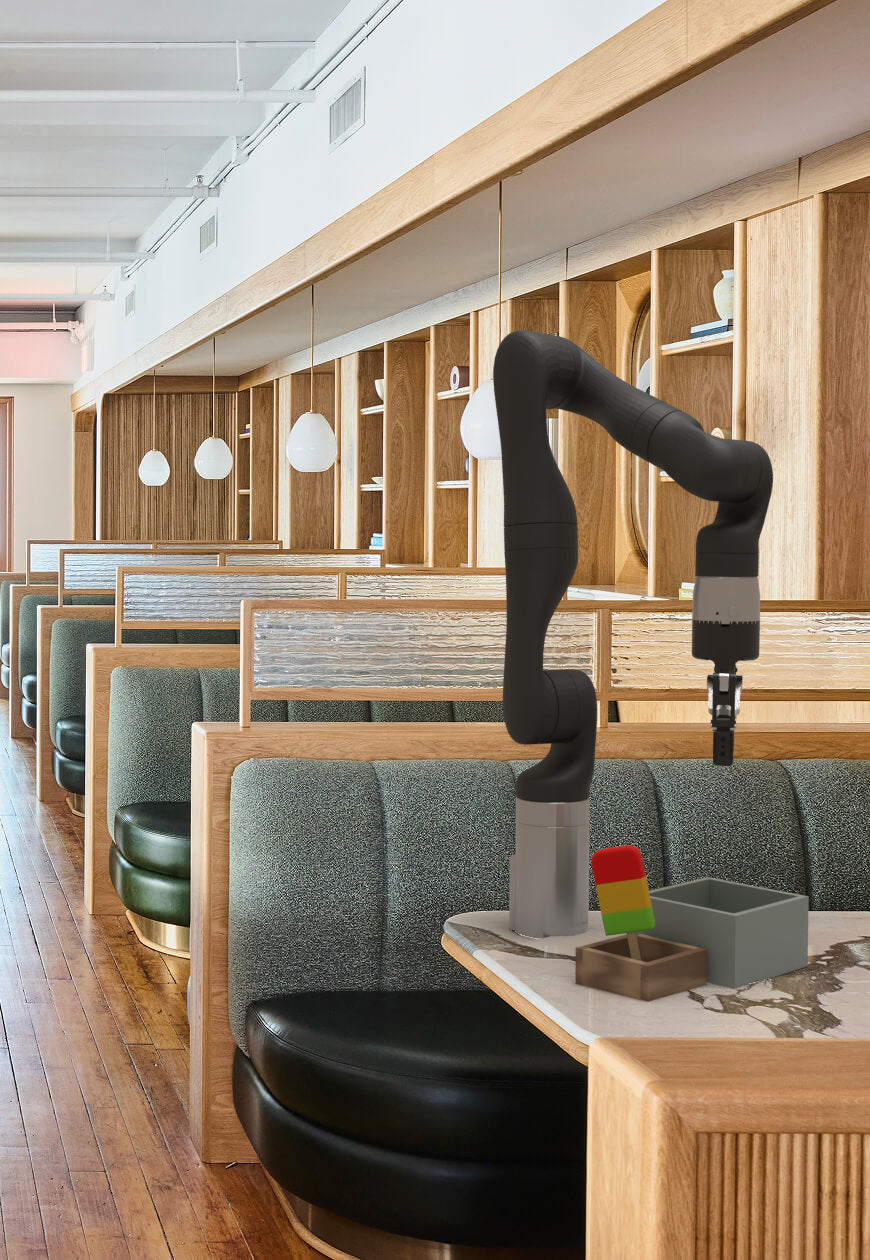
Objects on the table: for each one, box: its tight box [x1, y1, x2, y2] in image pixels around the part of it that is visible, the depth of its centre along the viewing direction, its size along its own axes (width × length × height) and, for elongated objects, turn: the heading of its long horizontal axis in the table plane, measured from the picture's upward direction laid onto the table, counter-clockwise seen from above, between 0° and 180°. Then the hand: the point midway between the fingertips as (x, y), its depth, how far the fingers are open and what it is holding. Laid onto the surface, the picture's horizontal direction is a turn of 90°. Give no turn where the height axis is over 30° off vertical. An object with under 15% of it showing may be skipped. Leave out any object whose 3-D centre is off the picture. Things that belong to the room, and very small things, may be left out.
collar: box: [574, 933, 707, 1003], centre depth 161 cm, size 10×10×4 cm
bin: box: [636, 877, 810, 990], centre depth 169 cm, size 14×14×8 cm
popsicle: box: [590, 844, 656, 961], centre depth 161 cm, size 6×15×2 cm
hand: (723, 760), depth 168 cm, fingers open, 8 cm apart
